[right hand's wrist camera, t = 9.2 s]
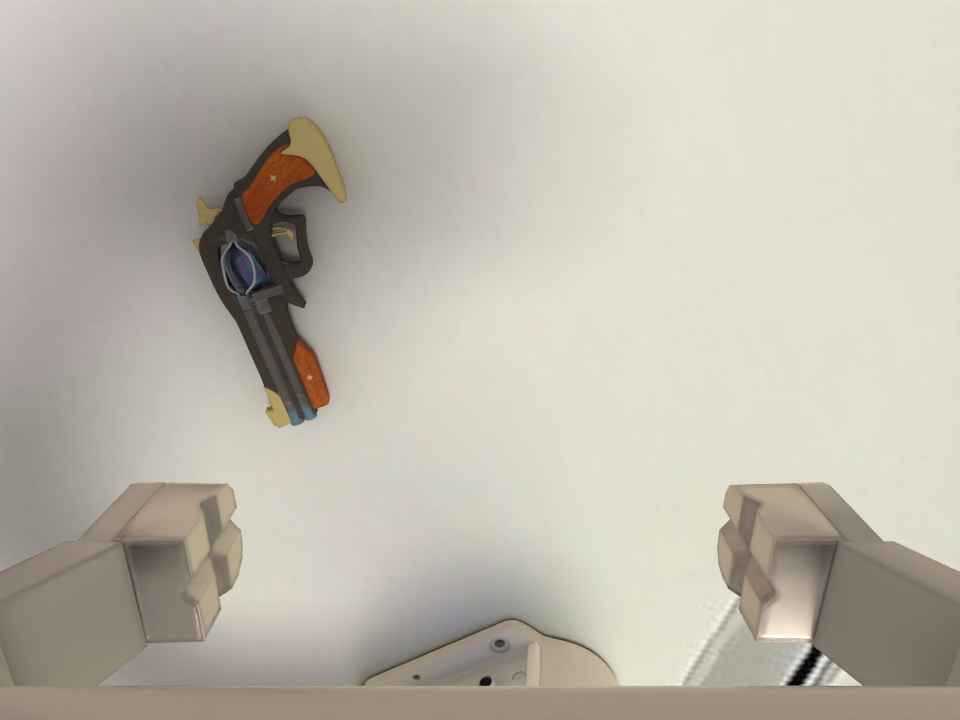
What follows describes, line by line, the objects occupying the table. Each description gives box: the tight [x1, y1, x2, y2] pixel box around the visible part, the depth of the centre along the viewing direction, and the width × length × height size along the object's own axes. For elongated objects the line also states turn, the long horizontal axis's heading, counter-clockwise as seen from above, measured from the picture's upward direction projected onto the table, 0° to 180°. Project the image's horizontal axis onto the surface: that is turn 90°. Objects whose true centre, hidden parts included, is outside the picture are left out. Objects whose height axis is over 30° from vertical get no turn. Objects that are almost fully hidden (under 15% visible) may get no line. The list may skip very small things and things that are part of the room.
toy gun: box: [192, 117, 347, 427], centre depth 41 cm, size 3×19×10 cm
